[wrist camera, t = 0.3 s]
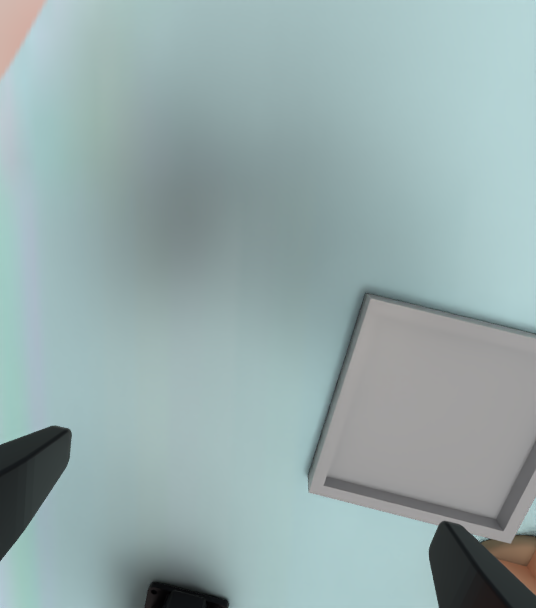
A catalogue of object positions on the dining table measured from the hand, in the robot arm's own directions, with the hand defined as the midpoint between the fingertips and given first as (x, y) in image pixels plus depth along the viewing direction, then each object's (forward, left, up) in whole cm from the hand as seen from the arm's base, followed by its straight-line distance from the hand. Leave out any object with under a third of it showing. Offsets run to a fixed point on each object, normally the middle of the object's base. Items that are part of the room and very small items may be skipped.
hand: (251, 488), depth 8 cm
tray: (-4, -12, -14) cm, 19 cm away
